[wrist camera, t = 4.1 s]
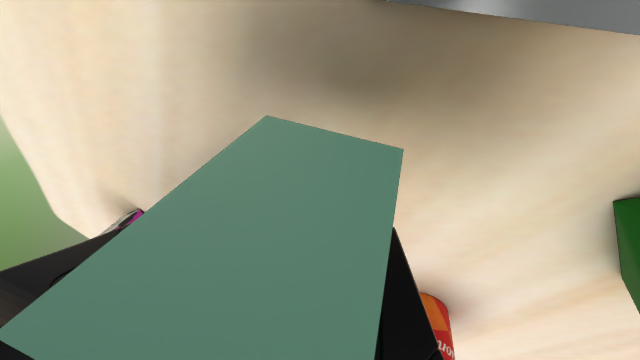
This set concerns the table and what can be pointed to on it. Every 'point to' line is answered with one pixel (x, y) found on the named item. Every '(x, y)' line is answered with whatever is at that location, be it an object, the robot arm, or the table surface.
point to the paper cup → (439, 324)
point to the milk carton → (629, 244)
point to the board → (553, 11)
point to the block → (237, 261)
